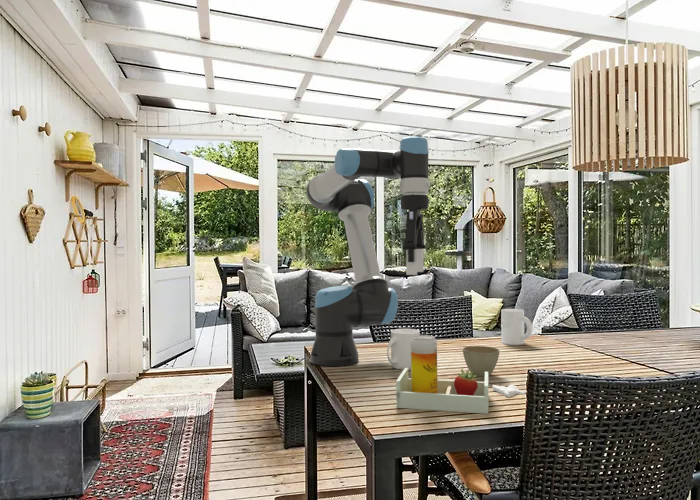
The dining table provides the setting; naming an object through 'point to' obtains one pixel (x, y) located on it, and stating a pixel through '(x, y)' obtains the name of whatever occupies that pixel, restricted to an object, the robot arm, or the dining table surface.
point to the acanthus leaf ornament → (508, 390)
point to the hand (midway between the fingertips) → (415, 273)
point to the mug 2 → (514, 326)
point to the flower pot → (481, 359)
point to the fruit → (465, 383)
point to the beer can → (424, 364)
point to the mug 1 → (401, 347)
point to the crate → (441, 396)
